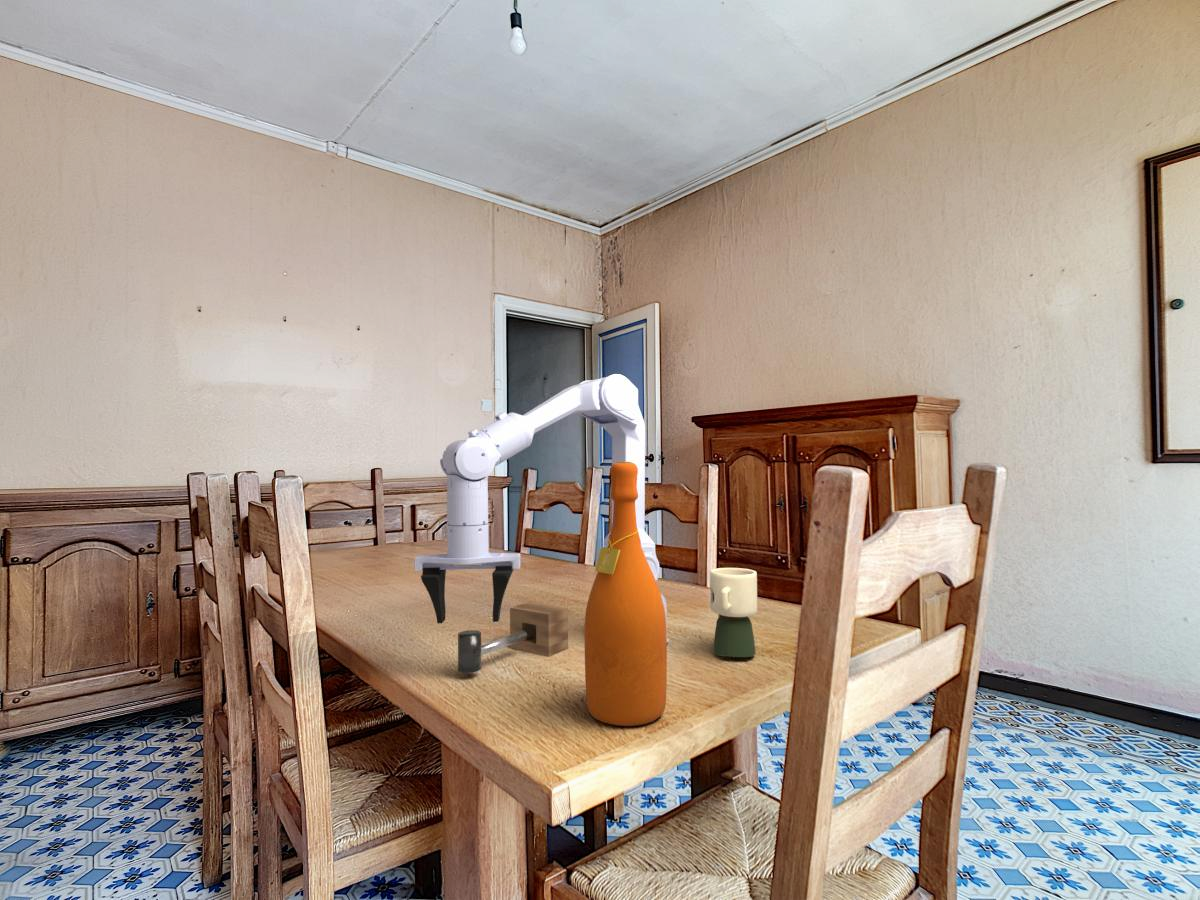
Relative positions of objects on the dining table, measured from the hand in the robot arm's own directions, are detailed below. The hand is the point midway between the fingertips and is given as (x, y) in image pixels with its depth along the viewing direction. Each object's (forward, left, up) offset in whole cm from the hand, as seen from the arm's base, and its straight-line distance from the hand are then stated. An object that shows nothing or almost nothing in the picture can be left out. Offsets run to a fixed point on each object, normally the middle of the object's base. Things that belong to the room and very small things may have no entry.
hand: (468, 620), depth 85 cm
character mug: (-28, -28, -8) cm, 41 cm away
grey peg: (0, -5, -7) cm, 8 cm away
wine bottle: (-25, -1, -8) cm, 26 cm away
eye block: (0, -15, -8) cm, 17 cm away
